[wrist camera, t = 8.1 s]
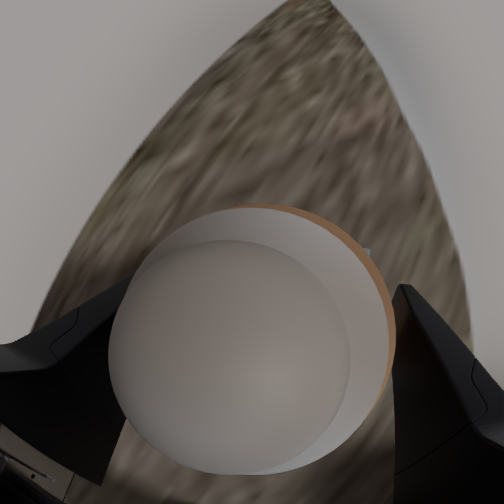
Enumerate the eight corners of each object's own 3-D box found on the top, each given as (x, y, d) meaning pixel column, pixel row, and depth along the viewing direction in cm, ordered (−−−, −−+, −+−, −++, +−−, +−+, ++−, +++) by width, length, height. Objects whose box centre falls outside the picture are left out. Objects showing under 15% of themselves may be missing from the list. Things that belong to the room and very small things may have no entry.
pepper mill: (319, 371, 16) (386, 599, 1) (234, 353, 17) (-1, 468, 2) (337, 285, 17) (514, 139, 2) (252, 269, 18) (61, 96, 3)
